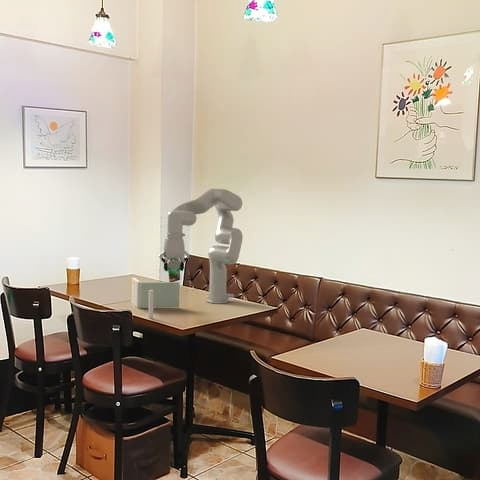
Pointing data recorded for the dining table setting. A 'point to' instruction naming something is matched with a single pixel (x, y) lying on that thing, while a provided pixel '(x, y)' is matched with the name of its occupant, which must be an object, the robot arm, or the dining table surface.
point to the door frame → (137, 296)
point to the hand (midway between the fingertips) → (173, 270)
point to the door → (160, 294)
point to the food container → (174, 270)
